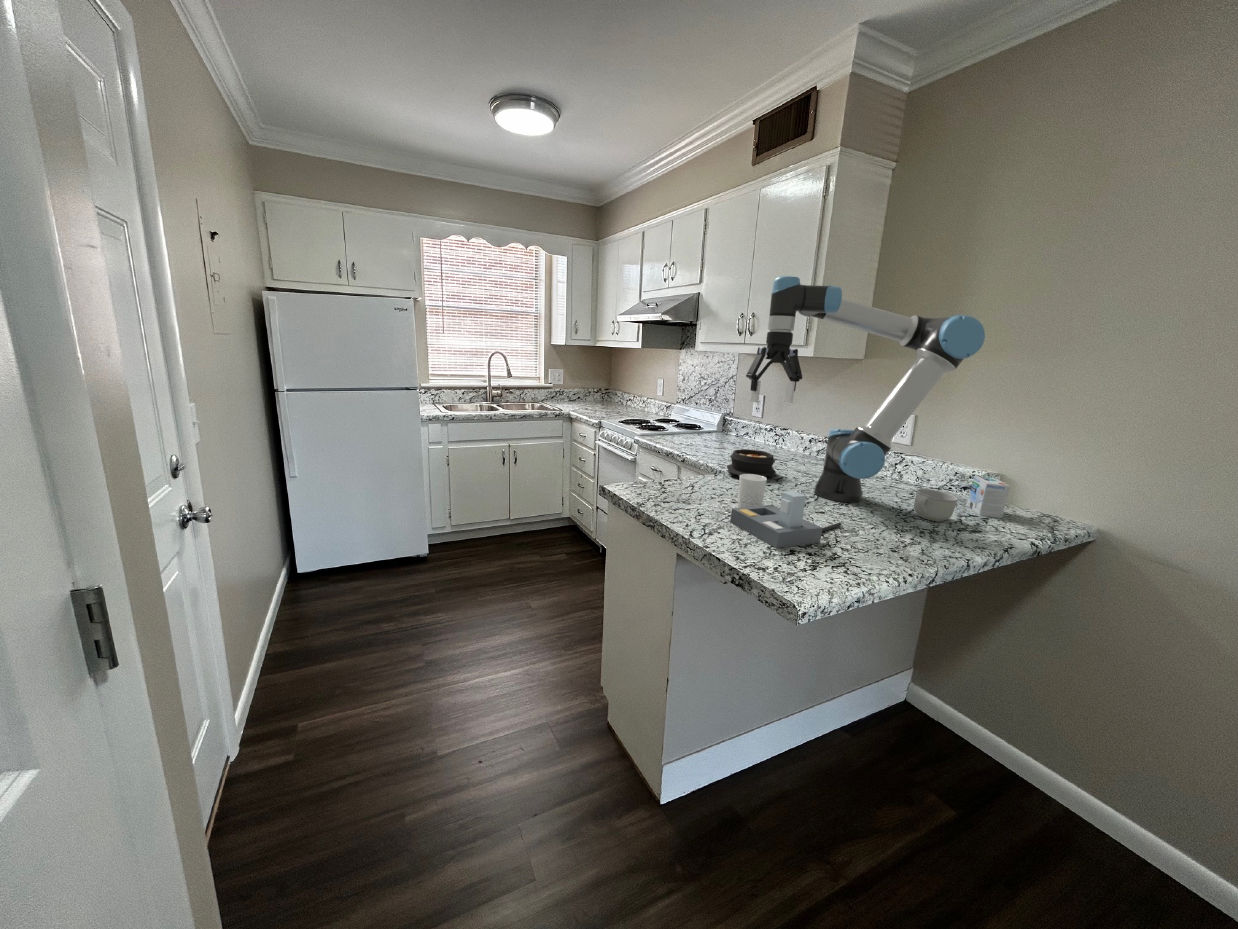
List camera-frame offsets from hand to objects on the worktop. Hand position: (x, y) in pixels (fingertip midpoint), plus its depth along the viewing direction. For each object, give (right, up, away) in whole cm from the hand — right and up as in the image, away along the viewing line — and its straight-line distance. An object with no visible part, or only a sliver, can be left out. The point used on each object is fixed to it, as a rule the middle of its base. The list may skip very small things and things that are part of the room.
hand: (771, 402), depth 158 cm
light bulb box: (+72, -35, +8) cm, 80 cm away
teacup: (+47, -36, -3) cm, 59 cm away
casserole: (+4, -23, +40) cm, 46 cm away
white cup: (-8, -33, -4) cm, 34 cm away
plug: (-4, -38, -27) cm, 47 cm away
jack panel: (-6, -37, -23) cm, 44 cm away
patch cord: (+8, -37, -19) cm, 43 cm away
